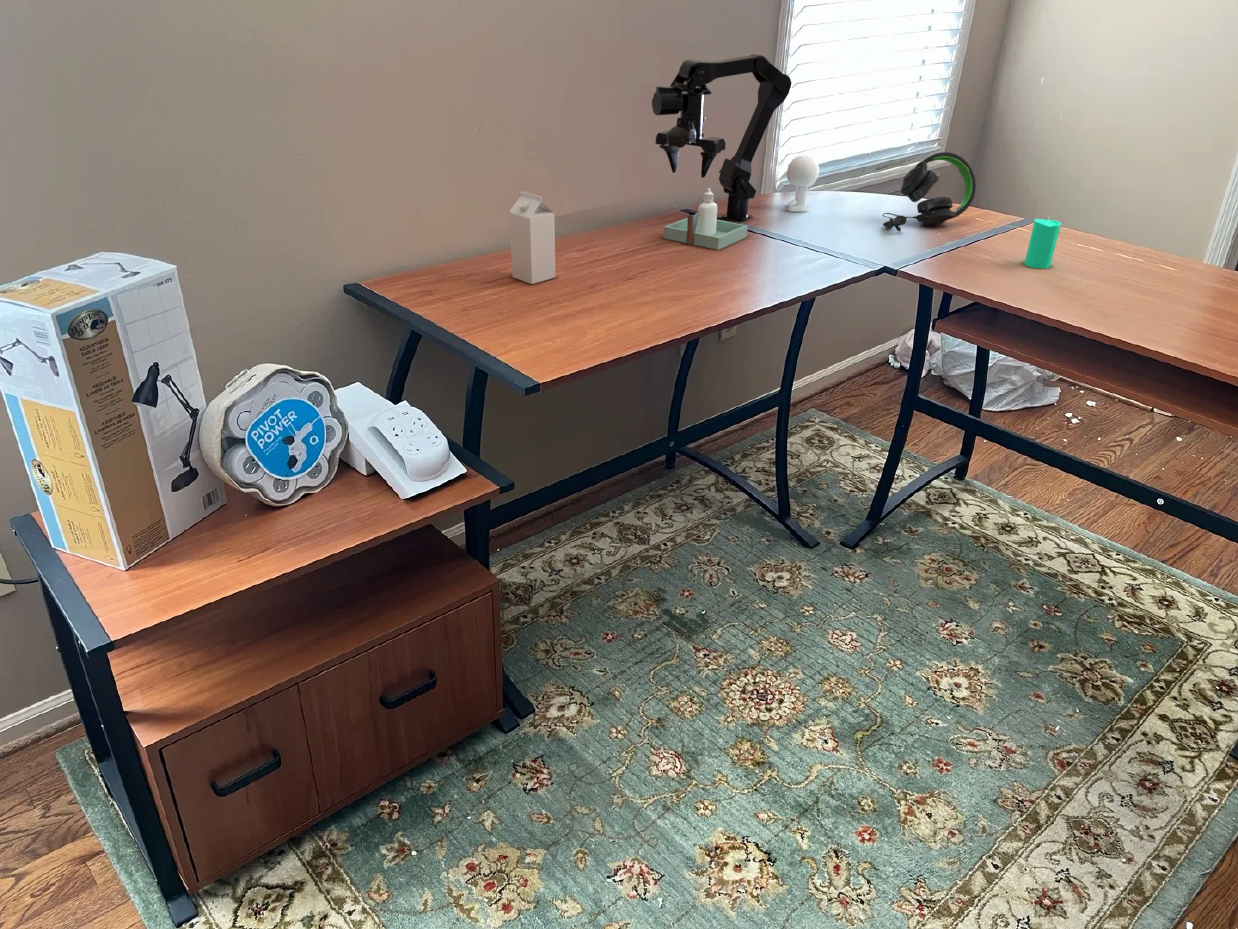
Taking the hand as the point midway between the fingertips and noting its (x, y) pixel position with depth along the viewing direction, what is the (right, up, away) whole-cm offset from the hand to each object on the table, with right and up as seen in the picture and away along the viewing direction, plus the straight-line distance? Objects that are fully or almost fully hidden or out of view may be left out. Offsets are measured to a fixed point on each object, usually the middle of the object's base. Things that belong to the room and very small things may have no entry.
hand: (688, 174), depth 244 cm
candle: (+83, -29, -22) cm, 91 cm away
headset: (+66, -12, +7) cm, 68 cm away
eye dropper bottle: (+4, -17, -5) cm, 18 cm away
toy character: (+34, -3, +22) cm, 40 cm away
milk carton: (-38, -35, -35) cm, 62 cm away
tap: (0, -21, -10) cm, 23 cm away
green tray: (+4, -18, -5) cm, 19 cm away
